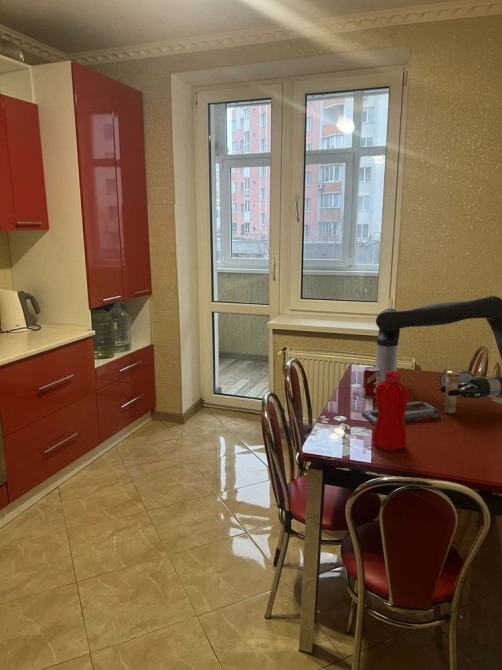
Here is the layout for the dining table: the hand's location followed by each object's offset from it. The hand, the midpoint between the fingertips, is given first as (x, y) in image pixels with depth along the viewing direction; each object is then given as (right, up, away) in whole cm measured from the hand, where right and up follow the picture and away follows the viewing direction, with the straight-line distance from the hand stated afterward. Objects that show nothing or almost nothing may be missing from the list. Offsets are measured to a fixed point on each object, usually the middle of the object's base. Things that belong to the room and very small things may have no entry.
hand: (445, 391), depth 179 cm
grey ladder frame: (-17, -9, 0) cm, 19 cm away
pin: (+3, -8, +3) cm, 9 cm away
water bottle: (-28, -15, -24) cm, 40 cm away
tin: (+17, -3, +30) cm, 34 cm away
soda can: (-22, -5, +22) cm, 32 cm away
